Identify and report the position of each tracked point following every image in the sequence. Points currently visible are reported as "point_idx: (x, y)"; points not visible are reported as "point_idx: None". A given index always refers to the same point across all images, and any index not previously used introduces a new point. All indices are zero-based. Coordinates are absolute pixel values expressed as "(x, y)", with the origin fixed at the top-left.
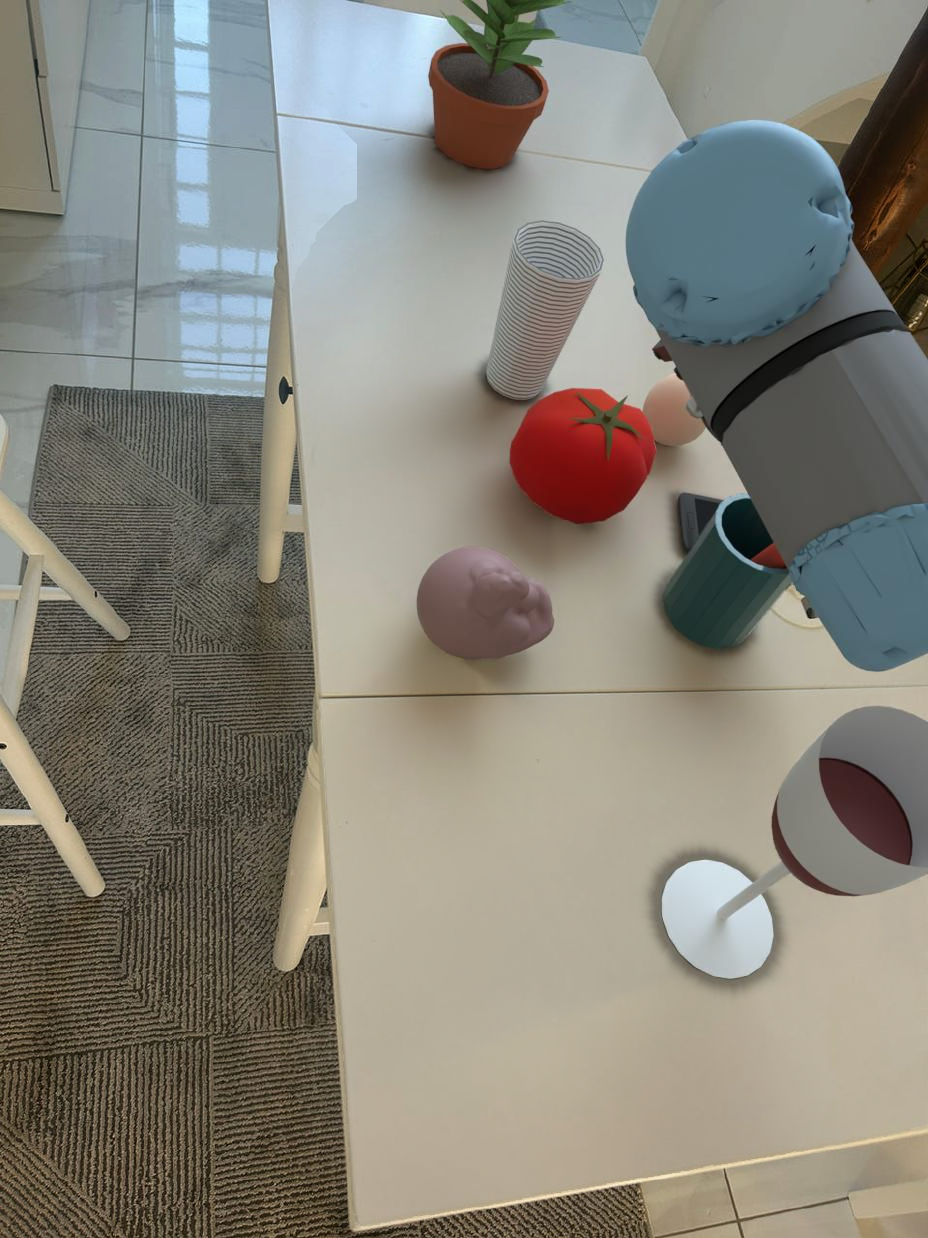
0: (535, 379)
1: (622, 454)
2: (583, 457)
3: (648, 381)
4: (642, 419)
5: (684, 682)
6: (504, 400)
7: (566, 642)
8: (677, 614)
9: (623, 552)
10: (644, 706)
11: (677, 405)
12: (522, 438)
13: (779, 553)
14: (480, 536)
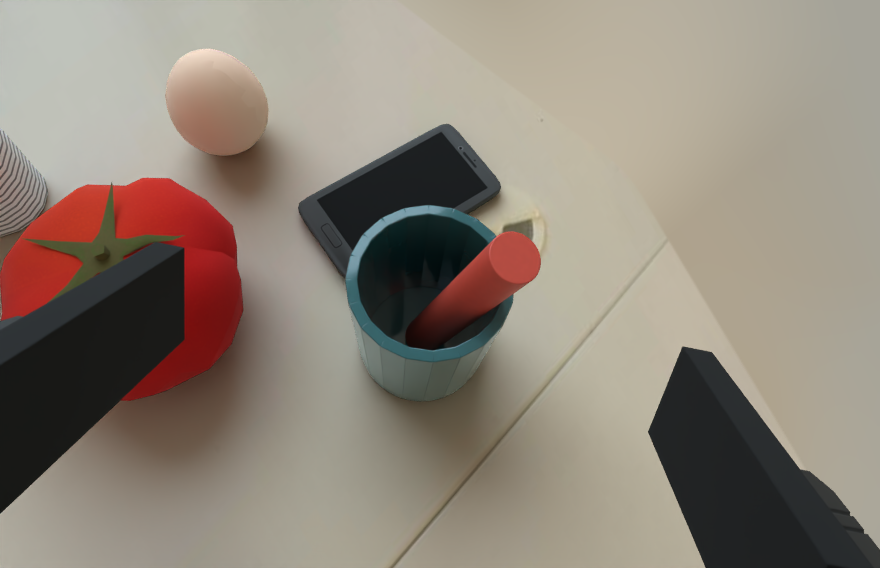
0: (12, 198)
1: None
2: None
3: None
4: (160, 203)
5: (459, 467)
6: (9, 241)
7: (298, 546)
8: (396, 392)
9: (285, 343)
10: (439, 549)
11: (207, 112)
12: None
13: (473, 307)
14: (97, 485)
